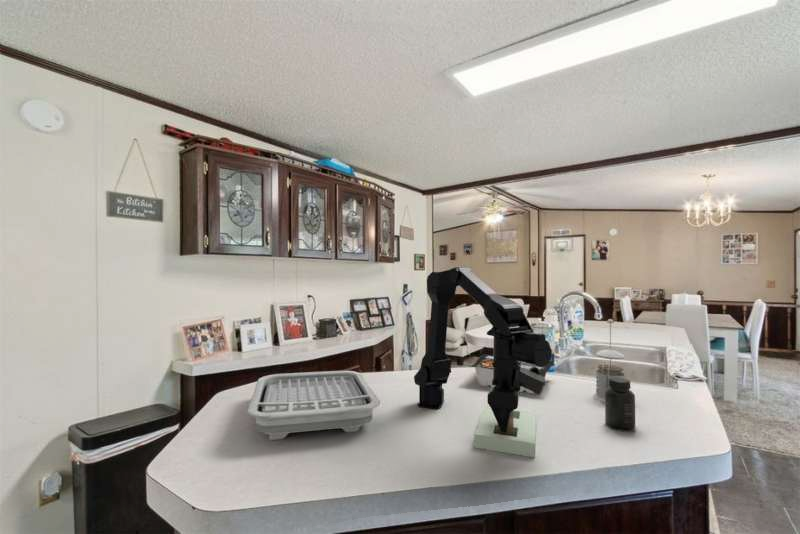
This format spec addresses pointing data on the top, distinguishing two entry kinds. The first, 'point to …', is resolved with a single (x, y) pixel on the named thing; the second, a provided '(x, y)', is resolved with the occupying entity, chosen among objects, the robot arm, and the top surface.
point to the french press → (607, 370)
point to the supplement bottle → (620, 405)
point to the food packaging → (486, 371)
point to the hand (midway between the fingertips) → (505, 424)
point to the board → (515, 444)
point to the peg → (510, 426)
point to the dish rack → (311, 402)
